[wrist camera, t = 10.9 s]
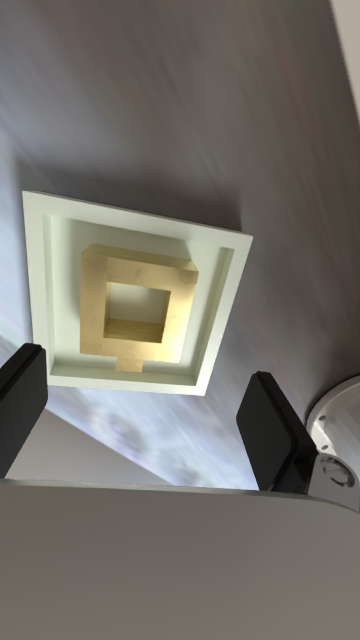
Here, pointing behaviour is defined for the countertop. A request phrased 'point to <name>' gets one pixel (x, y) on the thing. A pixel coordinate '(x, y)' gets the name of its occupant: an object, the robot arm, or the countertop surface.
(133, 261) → the ring
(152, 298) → the tray
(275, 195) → the countertop surface
